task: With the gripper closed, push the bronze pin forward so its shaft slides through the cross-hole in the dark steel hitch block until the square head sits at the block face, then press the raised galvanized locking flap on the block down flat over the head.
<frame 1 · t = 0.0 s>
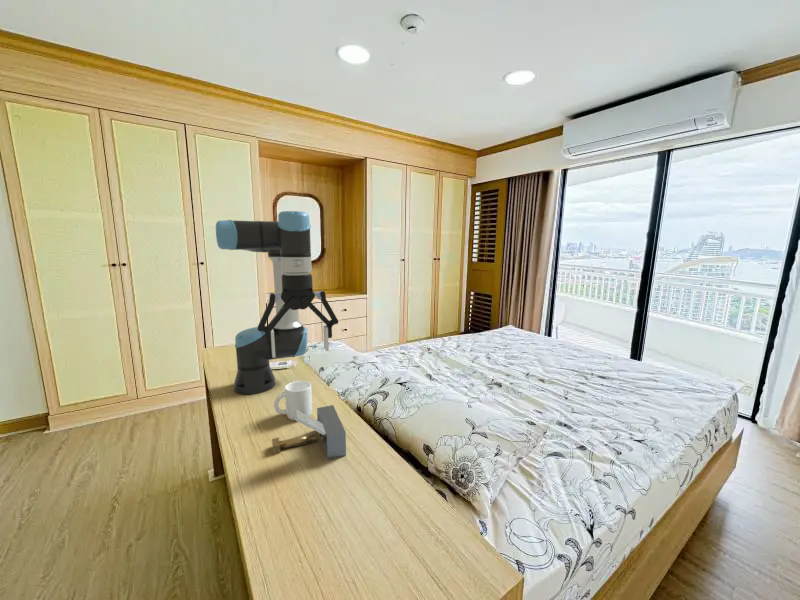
hand: (300, 352, 89), 28 cm above the table, fingers open, 13 cm apart
mug: (294, 416, 111), on the table
lynch pin: (276, 449, 93), on the table
hitch block: (331, 441, 97), on the table
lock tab: (309, 422, 88), point 10 cm above the table, hinge at 40.0°
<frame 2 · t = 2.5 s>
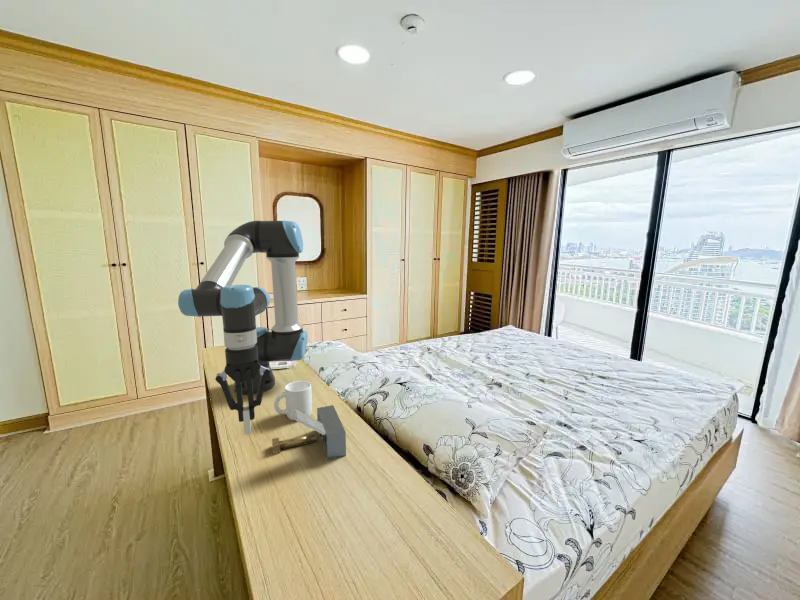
hand: (247, 431, 89), 7 cm above the table, fingers closed
nothing on the table moved.
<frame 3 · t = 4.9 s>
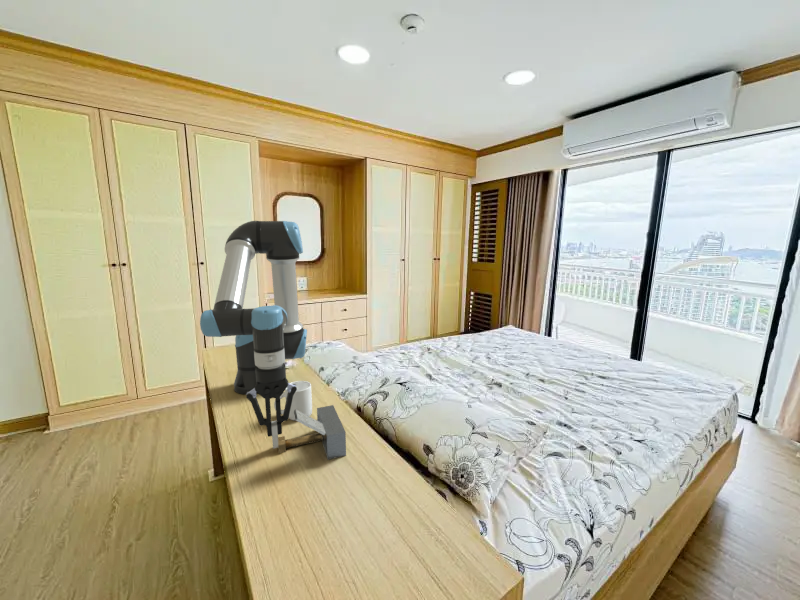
hand: (275, 445, 93), 1 cm above the table, fingers closed
lynch pin: (282, 448, 93), on the table, touching gripper
everything else where it was.
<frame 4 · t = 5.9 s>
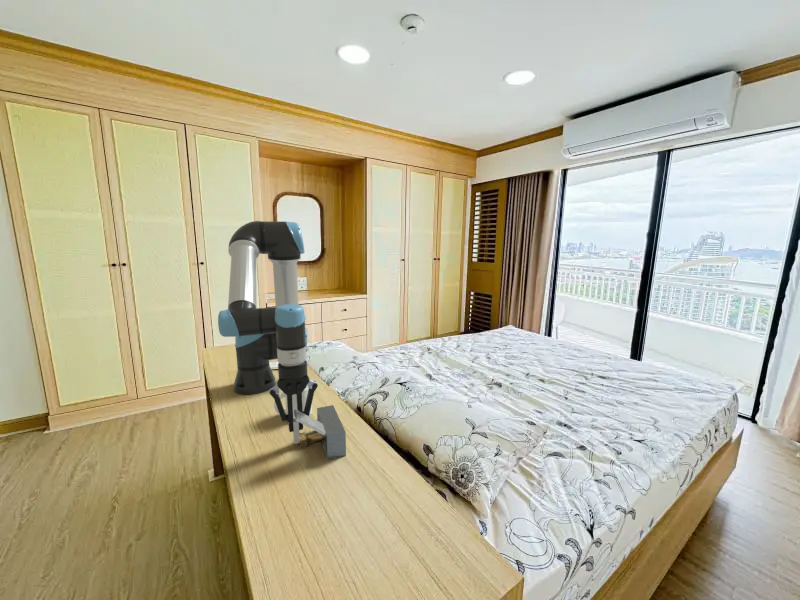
hand: (296, 440, 95), 1 cm above the table, fingers closed
lynch pin: (302, 443, 96), on the table, touching gripper
everything else where it was.
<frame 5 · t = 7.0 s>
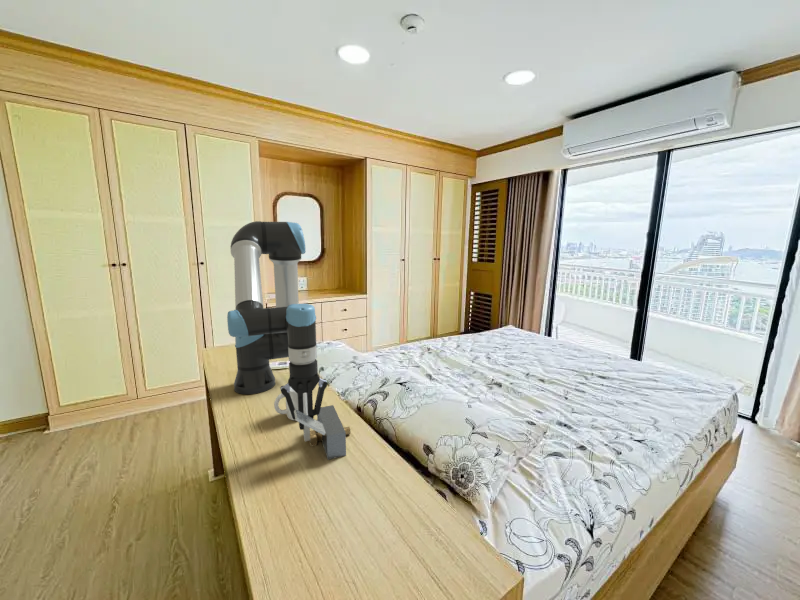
hand: (306, 438, 96), 1 cm above the table, fingers closed
lynch pin: (312, 441, 97), on the table, touching gripper
everything else where it was.
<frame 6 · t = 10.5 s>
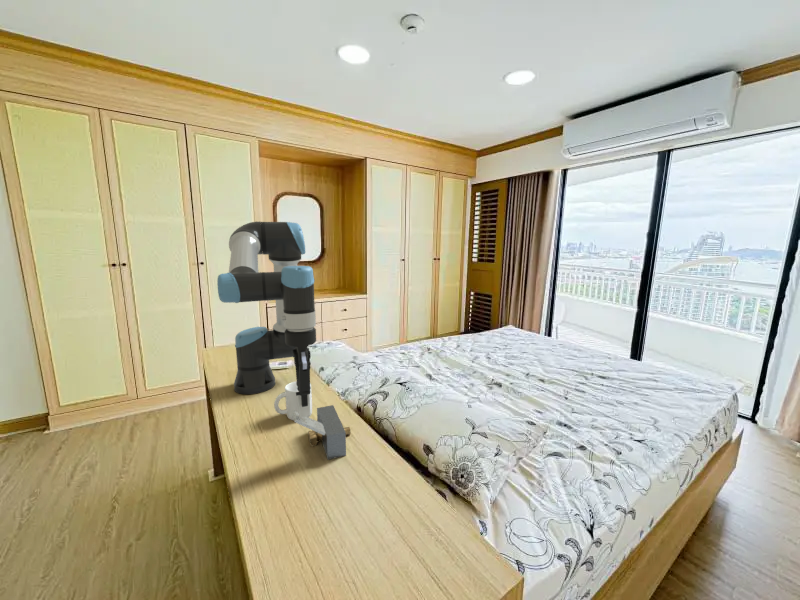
hand: (304, 415, 87), 12 cm above the table, fingers closed
lynch pin: (312, 441, 97), on the table
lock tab: (309, 422, 88), point 10 cm above the table, hinge at 36.9°, touching gripper
everything else where it was.
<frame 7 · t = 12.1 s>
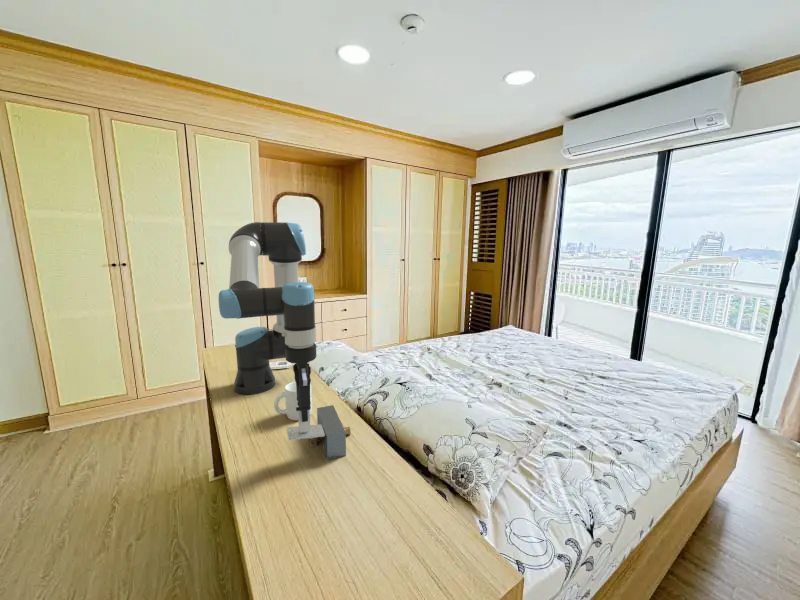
hand: (304, 430, 88), 8 cm above the table, fingers closed
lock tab: (305, 431, 88), point 8 cm above the table, hinge at 7.2°, touching gripper
everything else where it was.
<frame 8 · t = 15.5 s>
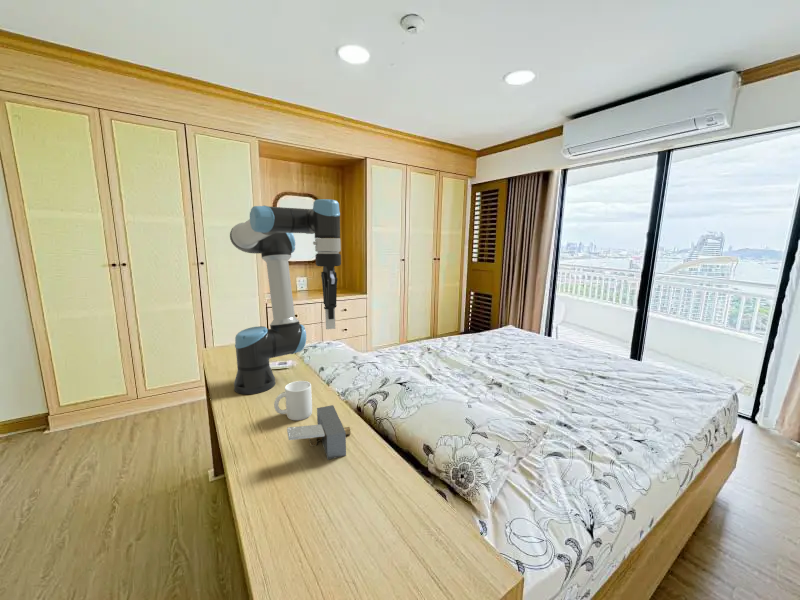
hand: (330, 328, 105), 30 cm above the table, fingers closed
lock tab: (305, 431, 88), point 8 cm above the table, hinge at 7.1°
everything else where it was.
at the end: lynch pin 0.5 cm from the target spot, on the table; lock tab at +7° (first picture: +40°); lynch pin touching table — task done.
